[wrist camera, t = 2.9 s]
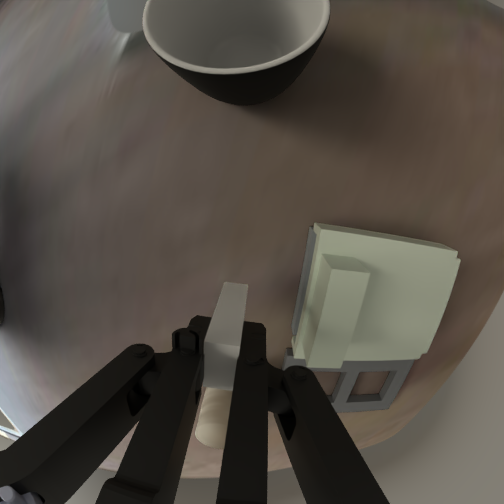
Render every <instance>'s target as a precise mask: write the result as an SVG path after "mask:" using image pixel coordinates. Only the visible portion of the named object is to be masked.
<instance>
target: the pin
mask: <svg viewBox="0 0 504 504" xmlns="http://www.w3.org/2000/svg"><path fill="white" fill-rule="evenodd" d="M231 398H232V391H229V390H222V389H215V388H209V387H206V390H205V394H204V398H203V402H202V406H201V410H200V414H199V418H198V423H197V427H196V431H195V436H196V438H197V439H198V440H199V441H200V442H201V443H203V444H204V445H206V446H209V447H212V448H216V449H224V445H225V438H226V432H227V425H228V418H229V411H230V405H231Z"/></svg>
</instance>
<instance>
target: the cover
mask: <svg viewBox="0 0 504 504" xmlns="http://www.w3.org/2000/svg"><path fill="white" fill-rule="evenodd" d="M313 231H314V232H315V233H316V234H317V236H316V242H315V248H314V253H313V259H312V264H311V269H310V275H309V280H308V285H307V290H306V295H305V299H304V304H303V309H302V314H301V318H300V323H299V327H298V331H297V336H293V337H292V348H293V355H294V358H296V359H305V360H306V365H307V367H310V368H341V366H342V363H343V361H383V360H409V359H420V357H421V355H422V354H424V353H427V352H428V349H429V347H430V345H431V343H432V341H433V338H434V336H435V334H436V331H437V329H438V326H439V324H440V321H441V319H442V316H443V314H444V311H445V308H446V306H447V303H448V300H449V297H450V294H451V291H452V288H453V285H454V282H455V278H456V275H457V272H458V268H459V265H460V261H461V259H459V258H457V254H458V251H456V250H454V249H452V248H450V247H448V246H446V245H444V244H441V243H436V242H430V241H425V240H420V239H414V238H409V237H403V236H398V235H392V234H386V233H380V232H374V231H368V230H362V229H356V228H350V227H343V226H336V225H330V224H323V223H316V222H314V228H313Z"/></svg>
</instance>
